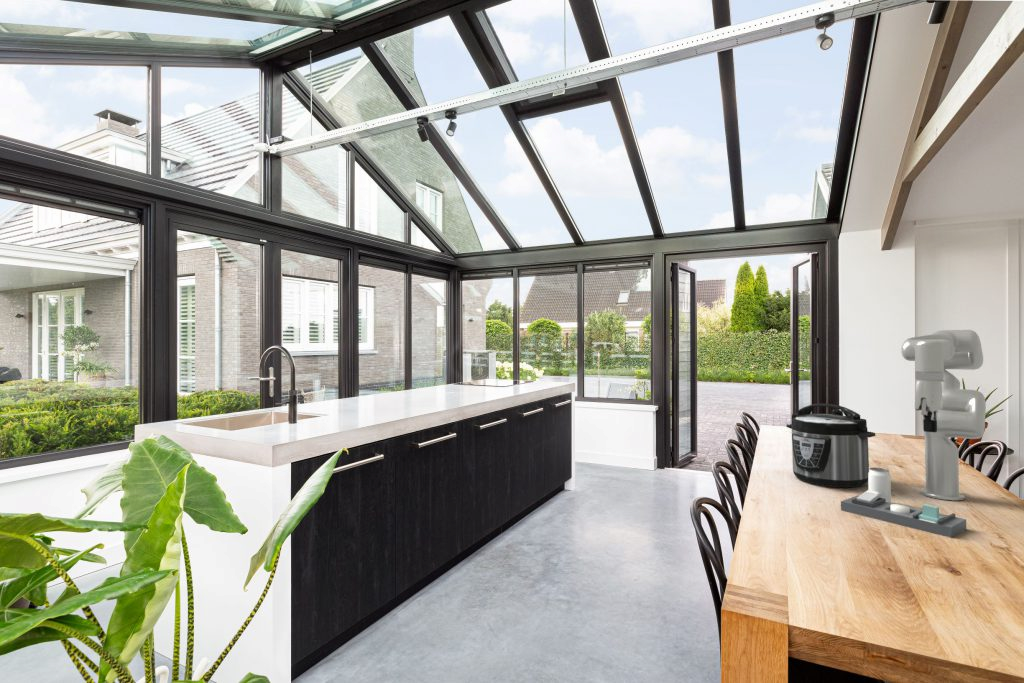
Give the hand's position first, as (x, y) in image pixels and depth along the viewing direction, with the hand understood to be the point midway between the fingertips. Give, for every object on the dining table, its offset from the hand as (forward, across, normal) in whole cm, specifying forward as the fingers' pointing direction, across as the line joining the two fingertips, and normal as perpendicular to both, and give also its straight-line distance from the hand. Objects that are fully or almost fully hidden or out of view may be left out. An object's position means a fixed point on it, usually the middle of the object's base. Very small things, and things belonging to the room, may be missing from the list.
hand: (930, 431), depth 172 cm
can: (+27, +3, -14) cm, 31 cm away
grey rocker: (+22, +16, -12) cm, 30 cm away
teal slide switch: (+24, +19, +6) cm, 31 cm away
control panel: (+27, +16, -3) cm, 32 cm away
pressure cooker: (+27, -13, -39) cm, 49 cm away
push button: (+27, +16, -3) cm, 32 cm away
